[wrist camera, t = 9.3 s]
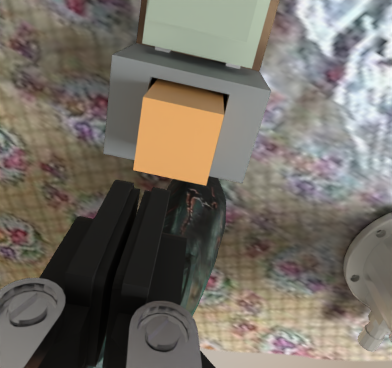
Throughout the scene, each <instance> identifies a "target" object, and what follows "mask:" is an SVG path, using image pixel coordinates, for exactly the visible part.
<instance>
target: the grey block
mask: <svg viewBox="0 0 392 368" xmlns="http://www.w3.org/2000/svg"><path fill="white" fill-rule="evenodd" d="M152 77H154V78H159V79H163V80H168V81H172V82H176V83H181V84H185V85H190V86H194V87H198V88H203V89H207V90H212V91H216V92H221V93H225V94H229V95H228V99H227V103H226V106H225V110H224V118H223V122H222V126H221V130H220V133H219V137H218V141H217V145H216V149H215V153H214V157H213V161H212V165H211V169H210V173H209V176H211V177H215V178H220V179H225V180H229V181H234V182H239V183H243V180H244V176H245V173H246V170H247V167H248V164H249V160H250V157H251V154H252V151H253V147H254V144H255V141H256V138H257V135H258V131H259V128H260V125H261V122H262V119H263V115H264V112H265V109H266V106H267V102H268V99H269V96H270V93H271V90H270V88H269V87H268V85H267V83H266V82H265V80H264V78H263V77H262V75H261V74H260V72H259V71H255V70H251V69H247V68H242V67H240V69H237V68H233V67H229V66H226V64H225V63H221V62H216V61H212V60H208V59H203V58H199V57H195V56H190V55H186V54H182V53H177V52H173V51H170V52H169V53H168V52H163V51H159V50H155V47H151V46H147V45H142V44H138V43H136V44H133V45H131V46H129V47H127V48H125V49H123V50H121V51H119V52H117V53H115V54H113V55H112V63H111V74H110V85H109V97H108V108H107V119H106V130H105V142H104V153H103V154H108V155H113V156H117V157H122V158H127V159H131V160H135V153H136V146H137V139H138V131H139V124H140V117H141V109H142V102H143V97H144V95H145V94H146V93H147V92H148V90H149V89H150V86H151V79H152Z"/></svg>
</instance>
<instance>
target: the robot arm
mask: <svg viewBox="0 0 392 368" xmlns="http://www.w3.org/2000/svg"><path fill="white" fill-rule="evenodd" d="M139 194H140V189H136V188H134V183H131V182H126V181H121V180H115V181H114V183H113V185H112V187H111V188H110V190H109V192H108V194H107V196H106V198H105V200H104V201H103V203H102V205H101V207H100V209H99V211H98V213H97V214H96V216H95V218H94V219H91V218H86V217H81V216H79V217H77V219H76V220H75V221H74V223H73V225H72V226H71V228H70V229H69V231H68V233H67V234H66V236H65V237H64V239H63V241H62V242H61V244H60V245H59V247H58V249H57V250H56V252H55V253H54V255H53V257H52V258H51V260H50V262H49V263H48V265H47V266H46V268H45V270H44V271H43V273H42V274H41V276H40V278H26V279H22V280H18V281H15V282H12V283H10V284H8V285H6V286H4V287H3V288H2V289H1V290H0V368H88V366H92V367H96V365H97V362H98V359H99V356H100V353H101V350H102V347H103V343H104V340H105V337H106V341H105V349H104V357H103V365H102V368H215V367H214V366H213V364H212V363H211V362H210V361H209V360H208V359H207V358H206V357H205V355H203V353H202V352H201V351H200V346H199V338H198V330H197V326H196V323H195V320H194V319H193V317H192V316H191V314H190V313H189V312H188V311H187V310H185V309H184V308H183V307H182V306H180V302H181V292H182V283H183V273H184V264H185V255H186V245H187V237H184V236H178V235H173V234H168V233H163V232H162V231H163V226H164V221H165V216H166V211H167V206H168V201H169V196H170V190H165V189H160V188H155V187H153V189H152V192H151V191H146V190H145V192H144V195H143V198H142V200H141V203H140V206H139V209H138V212H137V207H138V200H139ZM136 214H137V215H136ZM343 270H344V277H345V279H346V282H347V284H348V287H349V288H350V290H351V292H352V294H353V295H354V296H355V297H356V298H357V299H358V300H359V301H361V302H362V303H363V304H365V305H366V306H369V307H370V309H371V312H370V313H369V315H368V317H369V320H370V322H369V323H368V324H367V325H366V326H365V327H364V328H363V330H362V332H361V333H360V335H359V336H358V342H359V344H360V345H361V346H362V347H363V348H364V349H366V350H368V351H371V352H373V351H376V349H377V348H378V347H379V345H380V344H381V342H382V341H383V339H384V338H385V337H384V336H385V335H386V333H391V334H390V335H389V339H390V340H391V342H392V212H391V213H389V214H386V215H384V216H383V217H381V218H379V219H377V220H375V221H374V222H372V223H371V224H370V225H368V226H367V227H366V228H364V229H363V230H362V231H361V232H360V233H359V234H358V235H357V236H356V237H355V239H354V240H353V242H352V243H351V245H350V246H349V248H348V250H347V253H346V255H345V258H344V265H343Z"/></svg>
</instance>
